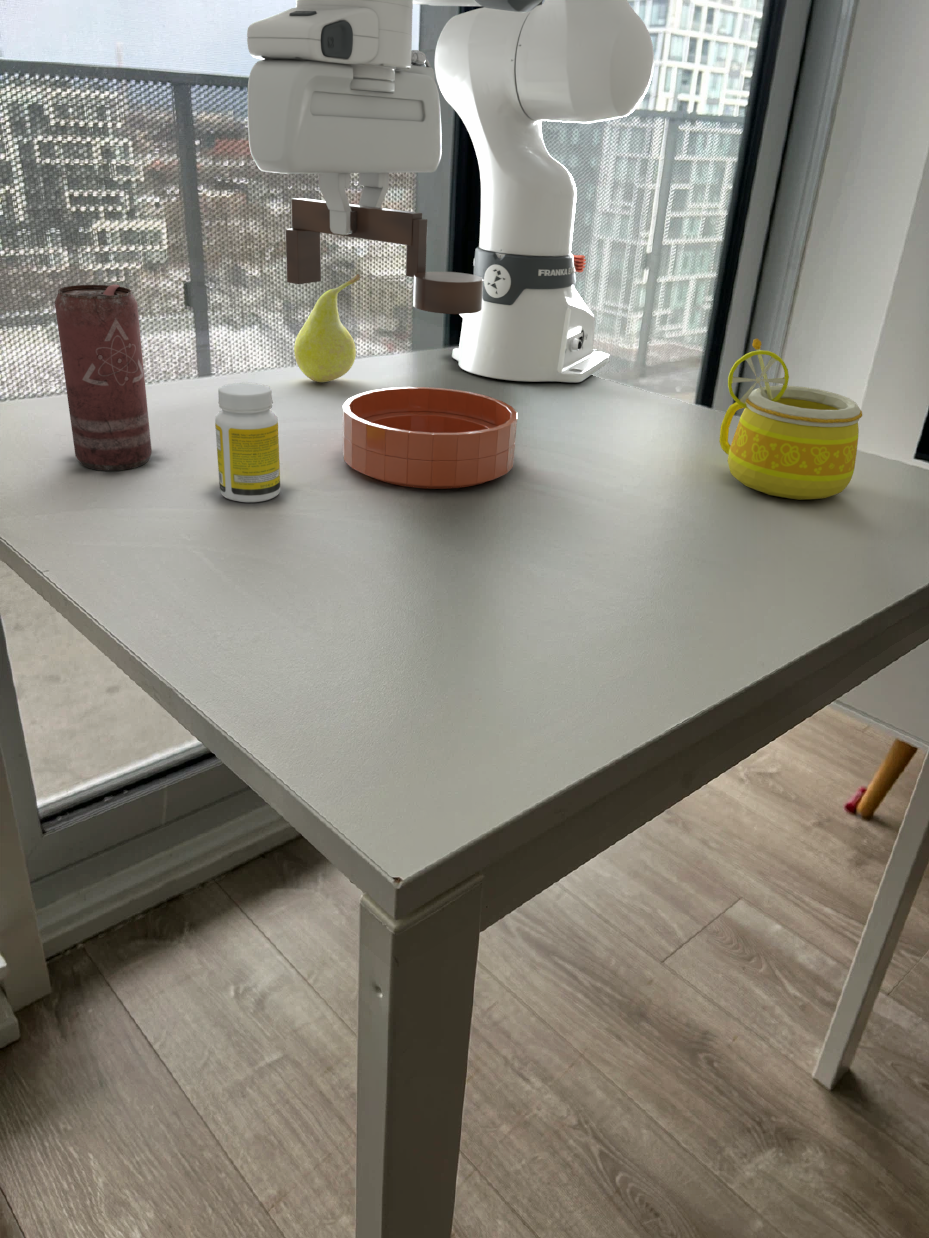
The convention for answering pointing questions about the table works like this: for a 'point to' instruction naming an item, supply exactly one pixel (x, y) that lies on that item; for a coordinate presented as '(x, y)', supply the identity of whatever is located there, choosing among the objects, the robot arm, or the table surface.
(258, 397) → the supplement bottle
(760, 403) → the mug
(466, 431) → the bowl
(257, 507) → the table surface
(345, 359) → the fruit
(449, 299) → the brown bridge
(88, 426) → the can
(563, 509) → the table surface
